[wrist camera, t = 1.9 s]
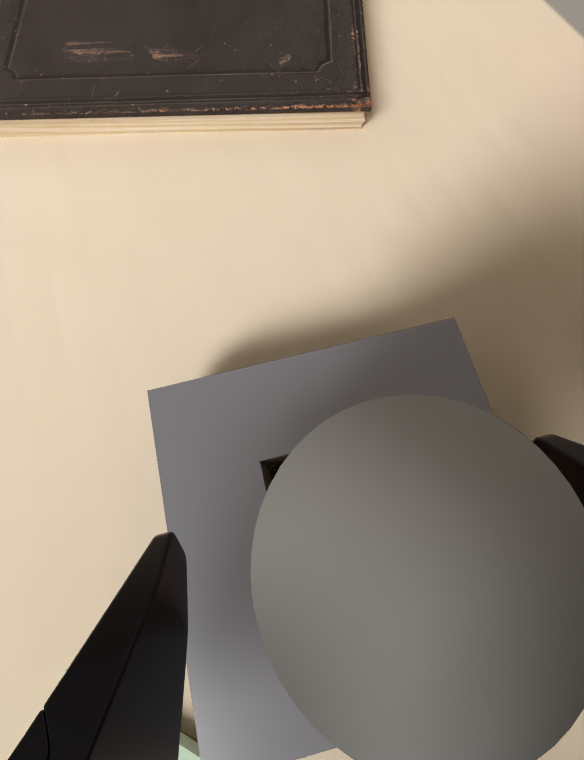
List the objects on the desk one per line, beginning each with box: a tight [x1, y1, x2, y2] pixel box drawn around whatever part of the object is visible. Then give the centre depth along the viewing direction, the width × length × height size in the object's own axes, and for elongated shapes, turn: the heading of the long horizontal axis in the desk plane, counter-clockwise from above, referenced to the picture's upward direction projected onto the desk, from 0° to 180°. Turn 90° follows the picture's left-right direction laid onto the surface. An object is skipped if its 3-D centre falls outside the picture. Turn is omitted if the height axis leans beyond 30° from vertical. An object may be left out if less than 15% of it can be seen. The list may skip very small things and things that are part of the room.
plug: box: [251, 395, 584, 760], centre depth 11 cm, size 5×5×12 cm
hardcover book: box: [0, 0, 371, 137], centre depth 24 cm, size 16×23×2 cm
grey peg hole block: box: [148, 318, 493, 760], centre depth 14 cm, size 12×12×4 cm
